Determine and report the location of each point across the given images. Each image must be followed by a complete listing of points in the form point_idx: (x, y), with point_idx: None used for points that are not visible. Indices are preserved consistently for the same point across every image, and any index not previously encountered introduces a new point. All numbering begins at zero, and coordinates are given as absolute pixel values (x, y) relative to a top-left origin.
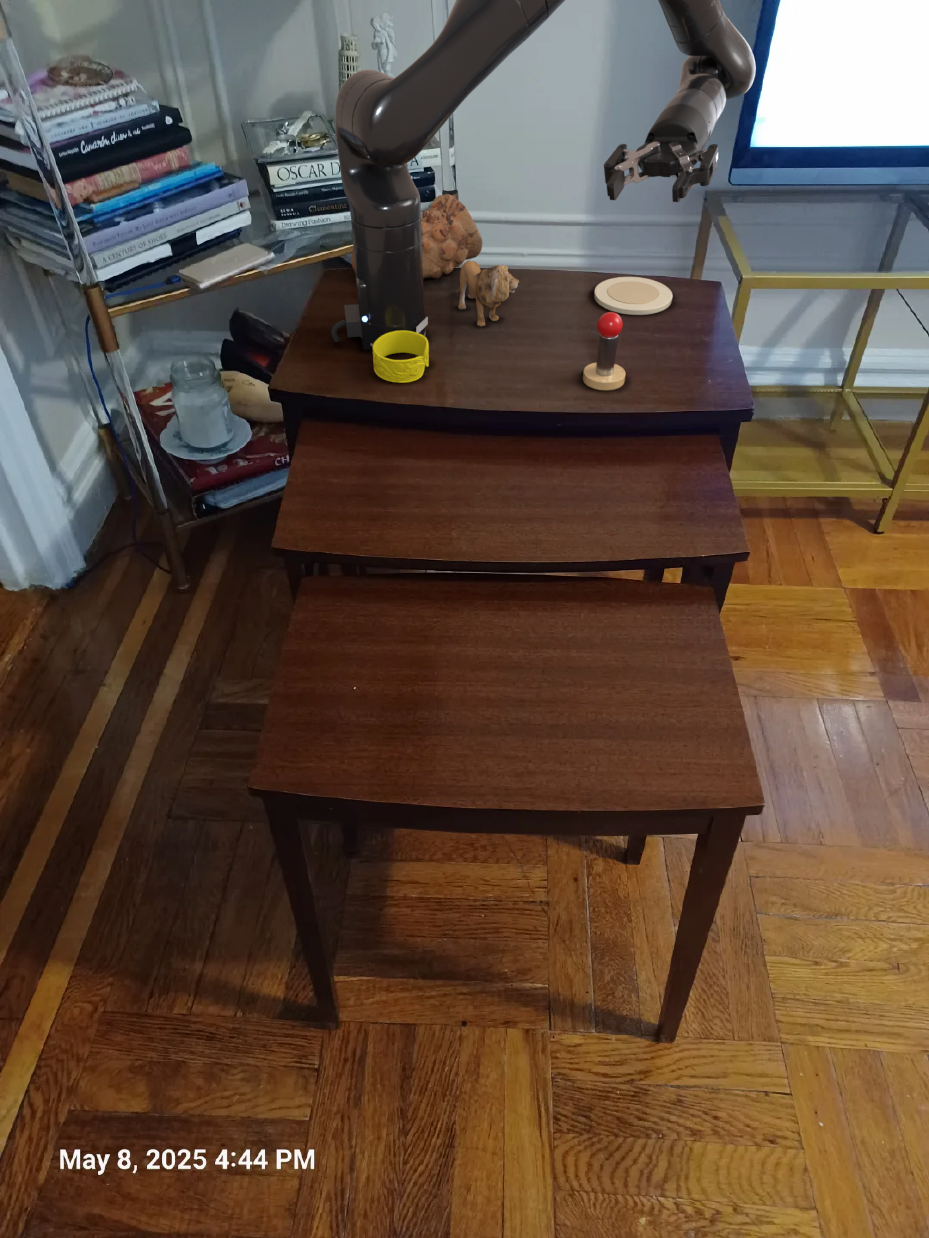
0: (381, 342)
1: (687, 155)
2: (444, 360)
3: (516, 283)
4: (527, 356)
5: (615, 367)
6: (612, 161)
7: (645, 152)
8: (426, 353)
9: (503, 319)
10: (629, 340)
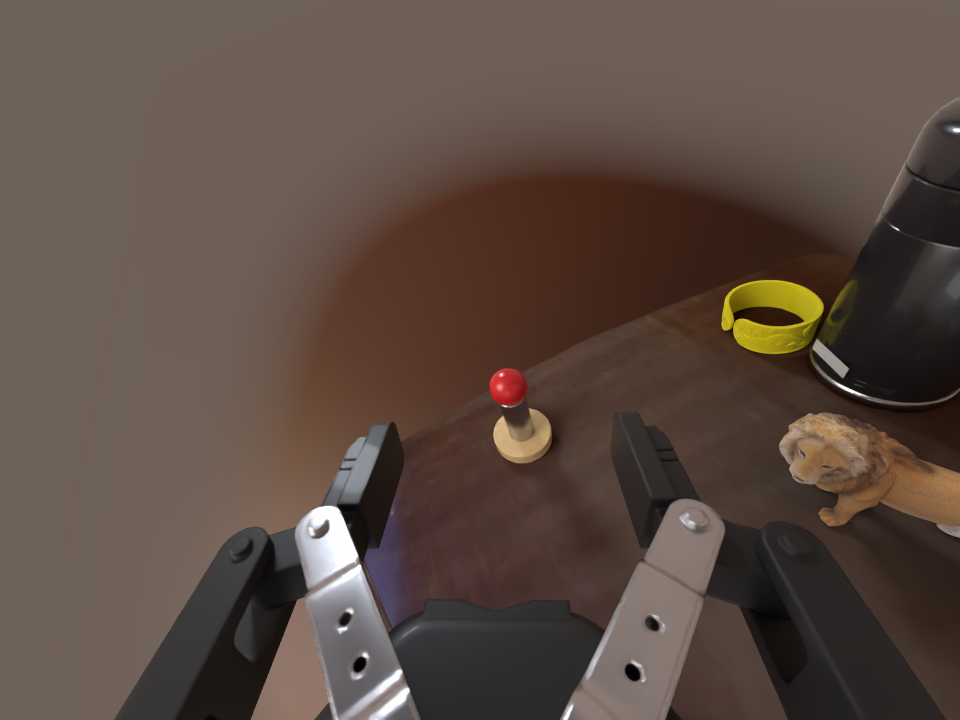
0: (811, 302)
1: (307, 603)
2: (743, 369)
3: (794, 467)
4: None
5: (513, 448)
6: (803, 583)
7: (607, 649)
8: (737, 321)
9: (818, 531)
10: (543, 579)
